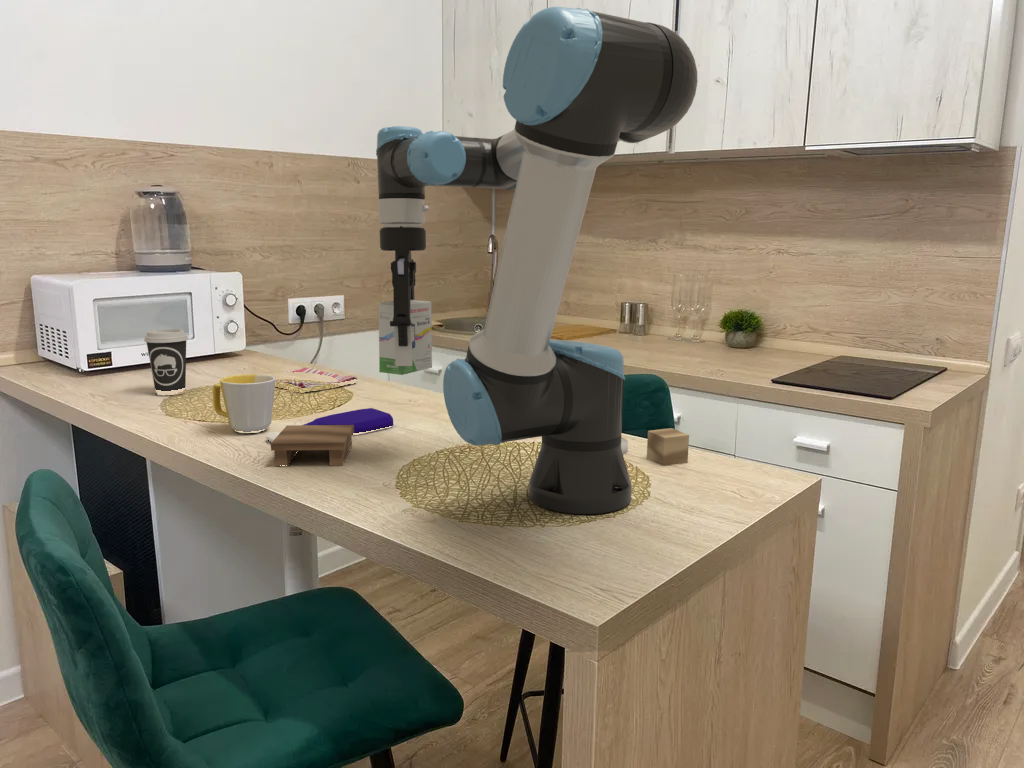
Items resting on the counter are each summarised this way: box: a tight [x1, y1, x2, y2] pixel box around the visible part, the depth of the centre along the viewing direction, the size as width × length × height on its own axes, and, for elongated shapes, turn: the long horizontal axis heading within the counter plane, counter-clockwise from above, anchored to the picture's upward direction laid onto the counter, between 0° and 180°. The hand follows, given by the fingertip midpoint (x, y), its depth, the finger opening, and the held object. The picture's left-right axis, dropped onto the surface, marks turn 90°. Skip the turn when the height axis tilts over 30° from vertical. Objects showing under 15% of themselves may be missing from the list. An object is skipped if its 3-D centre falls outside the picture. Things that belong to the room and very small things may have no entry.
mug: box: [212, 373, 276, 432], centre depth 150 cm, size 14×10×10 cm
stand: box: [270, 424, 354, 467], centre depth 133 cm, size 12×12×4 cm
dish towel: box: [277, 367, 358, 388], centre depth 197 cm, size 17×23×4 cm
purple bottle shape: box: [266, 407, 394, 443], centre depth 149 cm, size 3×11×24 cm
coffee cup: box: [143, 328, 189, 391], centre depth 182 cm, size 10×10×15 cm
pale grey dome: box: [621, 436, 629, 456], centre depth 139 cm, size 9×9×2 cm
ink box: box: [378, 299, 433, 376], centre depth 129 cm, size 9×5×12 cm, turn 148°
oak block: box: [646, 427, 690, 467], centre depth 132 cm, size 5×5×5 cm
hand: (406, 360), depth 130 cm, fingers closed on ink box, 9 cm apart
